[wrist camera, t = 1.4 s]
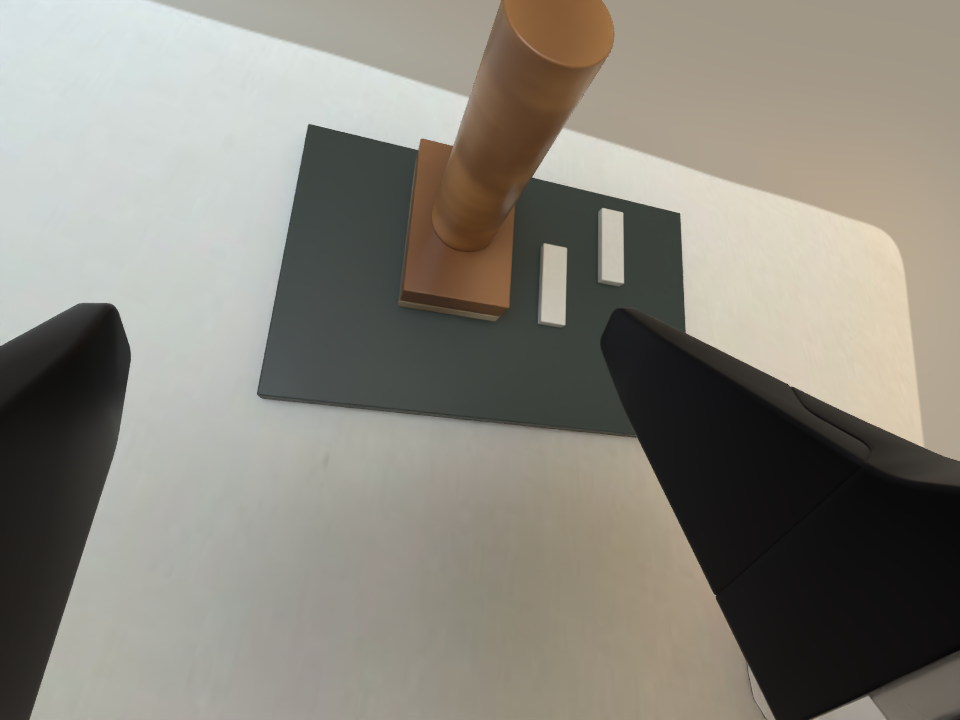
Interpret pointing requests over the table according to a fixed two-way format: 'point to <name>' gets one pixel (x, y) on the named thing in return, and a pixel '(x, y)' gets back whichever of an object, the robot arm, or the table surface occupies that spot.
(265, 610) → the table surface
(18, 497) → the robot arm
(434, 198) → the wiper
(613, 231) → the chalk streak
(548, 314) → the chalk streak
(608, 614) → the table surface
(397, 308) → the board
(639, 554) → the table surface
